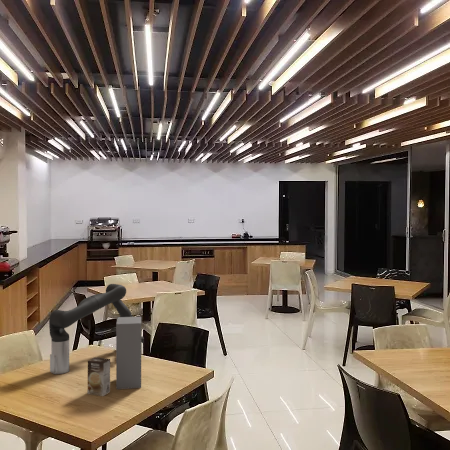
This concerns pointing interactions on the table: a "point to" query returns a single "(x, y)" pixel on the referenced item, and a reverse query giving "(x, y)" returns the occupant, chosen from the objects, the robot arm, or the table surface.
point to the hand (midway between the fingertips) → (131, 343)
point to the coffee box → (98, 376)
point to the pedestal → (128, 352)
